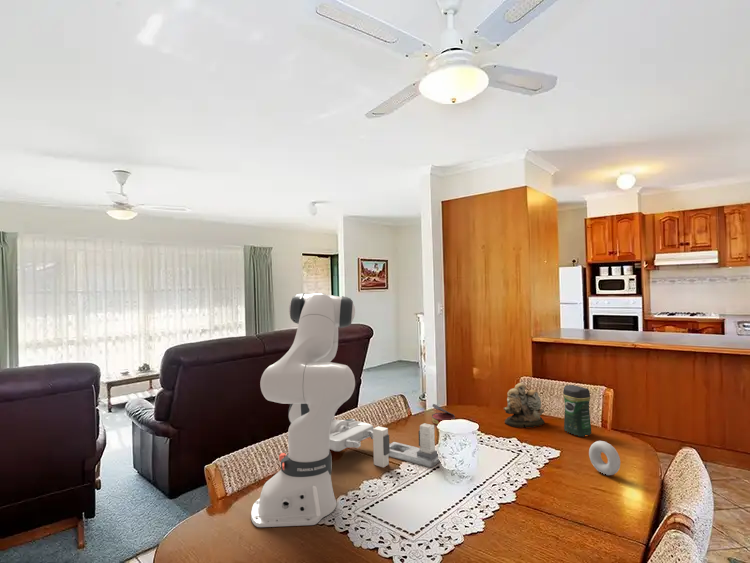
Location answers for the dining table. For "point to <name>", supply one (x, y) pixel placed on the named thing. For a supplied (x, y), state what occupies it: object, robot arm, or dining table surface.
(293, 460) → the robot arm
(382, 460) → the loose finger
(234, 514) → the dining table surface
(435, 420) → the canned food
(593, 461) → the donut
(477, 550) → the dining table surface
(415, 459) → the steel rail
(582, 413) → the coffee jar
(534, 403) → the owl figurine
